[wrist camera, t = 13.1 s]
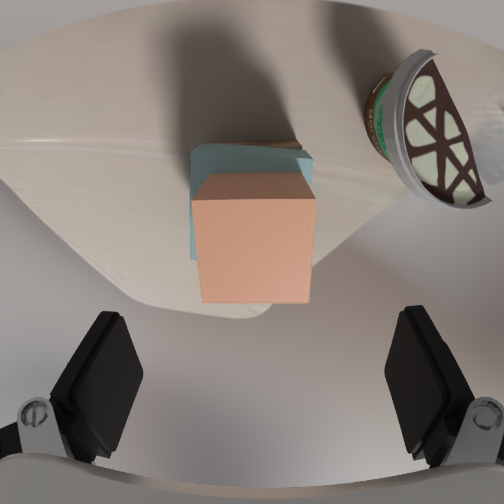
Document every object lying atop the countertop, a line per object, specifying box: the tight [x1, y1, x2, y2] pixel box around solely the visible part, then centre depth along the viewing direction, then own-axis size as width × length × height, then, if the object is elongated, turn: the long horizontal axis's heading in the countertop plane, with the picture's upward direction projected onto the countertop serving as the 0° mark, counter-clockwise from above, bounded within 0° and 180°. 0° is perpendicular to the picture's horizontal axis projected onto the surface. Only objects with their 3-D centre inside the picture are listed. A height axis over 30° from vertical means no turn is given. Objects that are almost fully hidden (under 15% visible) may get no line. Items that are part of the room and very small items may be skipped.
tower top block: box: [190, 143, 313, 260], centre depth 24 cm, size 8×8×4 cm
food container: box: [365, 49, 493, 211], centre depth 22 cm, size 12×6×10 cm, turn 33°
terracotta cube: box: [191, 172, 316, 303], centre depth 19 cm, size 6×6×6 cm
